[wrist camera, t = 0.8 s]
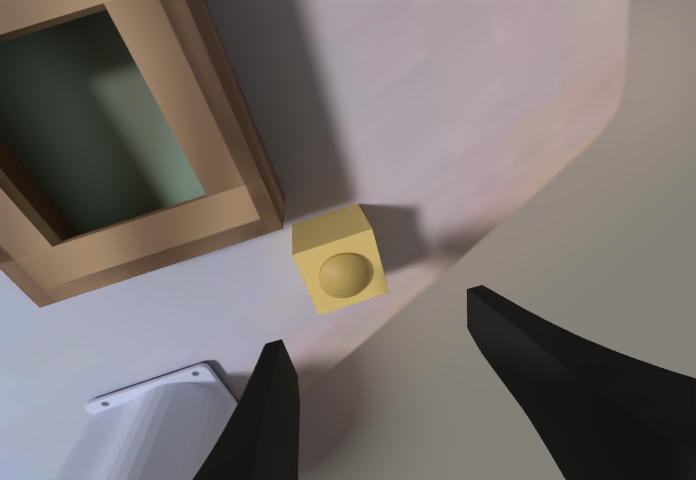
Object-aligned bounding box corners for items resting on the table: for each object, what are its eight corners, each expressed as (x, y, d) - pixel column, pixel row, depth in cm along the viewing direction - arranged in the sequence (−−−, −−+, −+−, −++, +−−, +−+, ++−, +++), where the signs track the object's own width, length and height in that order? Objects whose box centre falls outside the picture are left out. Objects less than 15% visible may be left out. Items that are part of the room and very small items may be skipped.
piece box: (94, 260, 18) (39, 307, 14) (-100, 24, 12) (-280, -5, 8) (284, 198, 18) (283, 228, 14) (180, -61, 13) (130, -128, 9)
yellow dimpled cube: (314, 278, 21) (319, 319, 18) (292, 224, 19) (292, 257, 15) (372, 258, 21) (390, 295, 18) (357, 203, 19) (373, 231, 16)
